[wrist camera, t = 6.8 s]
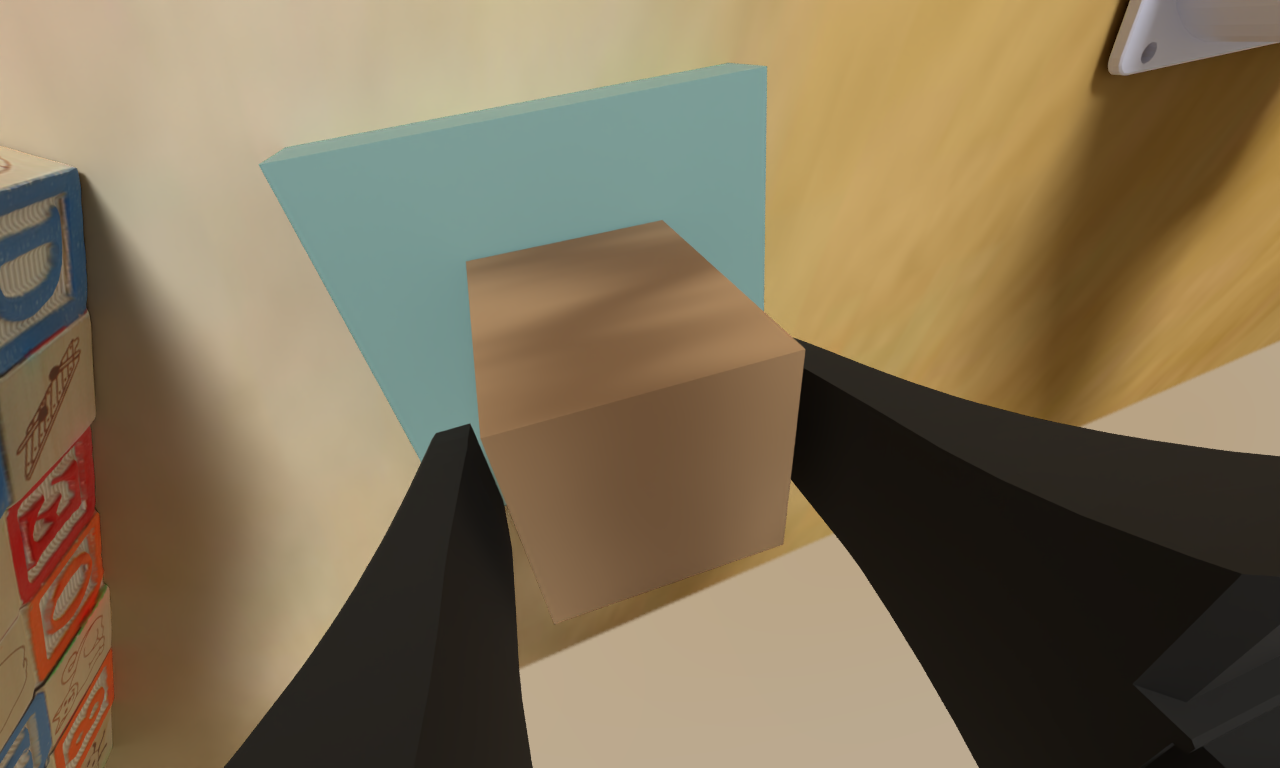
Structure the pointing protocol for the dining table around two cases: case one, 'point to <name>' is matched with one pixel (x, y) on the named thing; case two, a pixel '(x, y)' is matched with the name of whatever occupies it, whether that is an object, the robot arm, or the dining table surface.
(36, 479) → the stack of blocks
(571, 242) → the walnut block
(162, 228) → the dining table surface
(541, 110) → the teal base
